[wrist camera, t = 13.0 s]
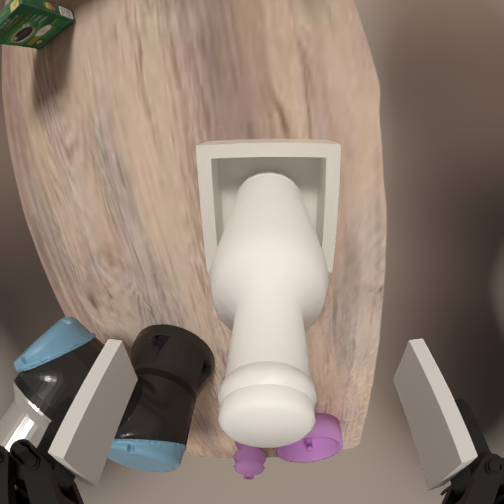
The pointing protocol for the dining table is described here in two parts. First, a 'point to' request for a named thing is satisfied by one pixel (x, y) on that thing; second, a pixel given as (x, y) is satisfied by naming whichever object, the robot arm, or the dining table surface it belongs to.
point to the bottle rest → (269, 158)
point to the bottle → (268, 311)
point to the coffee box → (32, 22)
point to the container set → (294, 447)
